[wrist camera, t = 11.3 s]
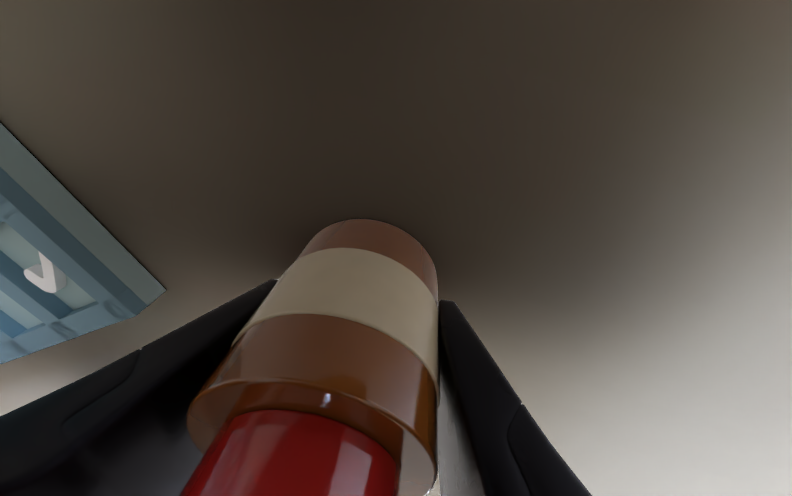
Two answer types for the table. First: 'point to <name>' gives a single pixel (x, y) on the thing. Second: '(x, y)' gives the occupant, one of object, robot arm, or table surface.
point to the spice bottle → (329, 377)
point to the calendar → (57, 262)
